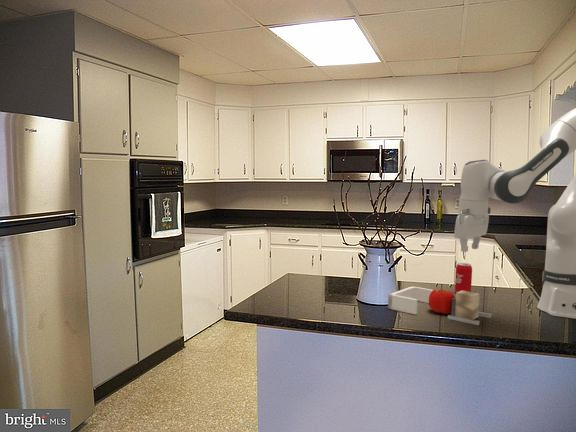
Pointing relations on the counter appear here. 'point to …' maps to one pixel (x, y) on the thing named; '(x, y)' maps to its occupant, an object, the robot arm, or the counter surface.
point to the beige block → (466, 305)
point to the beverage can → (463, 277)
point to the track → (469, 319)
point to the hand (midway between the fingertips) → (469, 250)
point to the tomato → (441, 301)
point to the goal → (408, 299)
